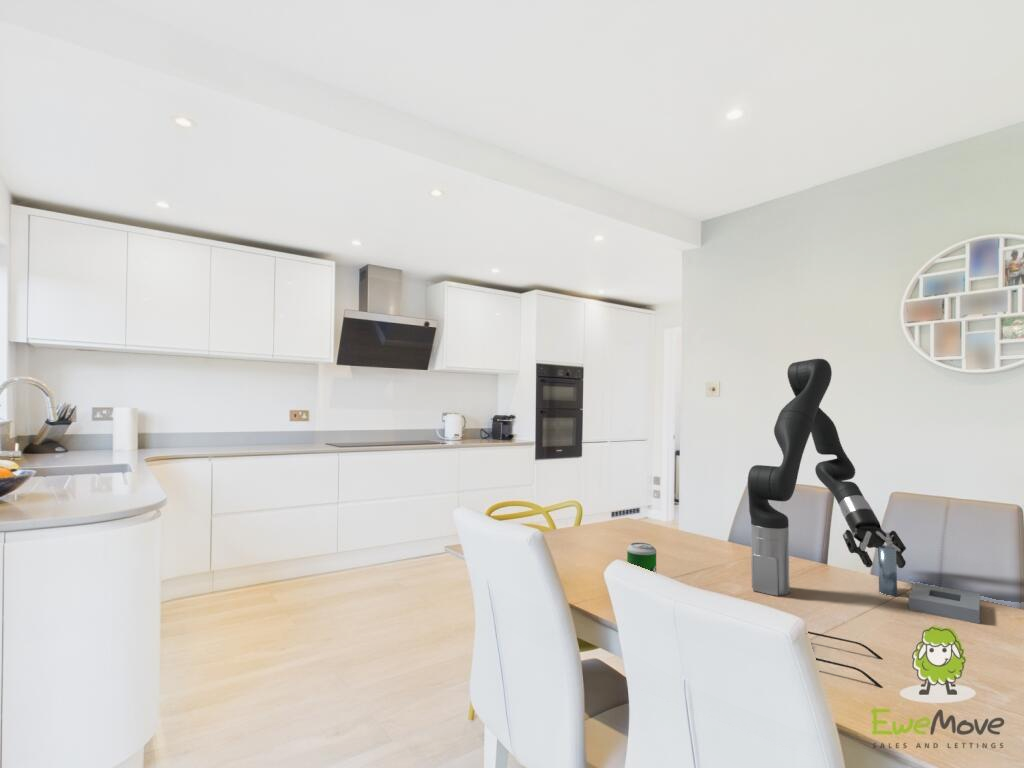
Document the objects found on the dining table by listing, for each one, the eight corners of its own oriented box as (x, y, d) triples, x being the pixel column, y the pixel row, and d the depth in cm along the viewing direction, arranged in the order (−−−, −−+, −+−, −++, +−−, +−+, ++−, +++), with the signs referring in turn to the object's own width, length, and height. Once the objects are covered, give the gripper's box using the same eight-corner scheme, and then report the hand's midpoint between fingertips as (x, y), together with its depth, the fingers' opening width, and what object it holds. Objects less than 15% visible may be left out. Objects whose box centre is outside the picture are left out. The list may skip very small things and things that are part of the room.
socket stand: (979, 623, 123) (978, 610, 123) (909, 609, 131) (908, 597, 131) (980, 605, 135) (979, 593, 135) (915, 593, 143) (915, 582, 143)
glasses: (788, 639, 114) (787, 615, 114) (882, 660, 104) (882, 634, 104) (777, 664, 102) (777, 637, 102) (882, 690, 93) (882, 661, 93)
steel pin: (896, 597, 140) (895, 550, 141) (877, 593, 143) (876, 547, 144) (898, 593, 143) (896, 547, 144) (880, 590, 146) (879, 545, 147)
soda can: (651, 597, 138) (651, 549, 138) (623, 591, 142) (623, 545, 142) (659, 589, 144) (659, 544, 145) (632, 584, 148) (632, 540, 149)
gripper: (839, 507, 154) (865, 558, 142) (889, 507, 153) (920, 559, 141) (829, 522, 159) (853, 573, 147) (878, 522, 158) (906, 574, 146)
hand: (886, 566), depth 144 cm, fingers open, 8 cm apart
